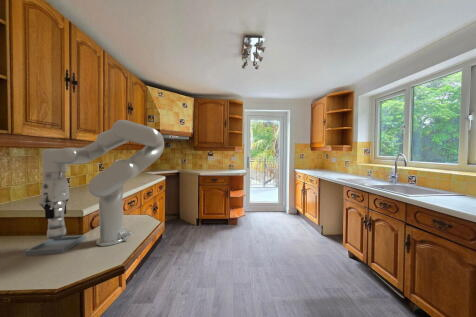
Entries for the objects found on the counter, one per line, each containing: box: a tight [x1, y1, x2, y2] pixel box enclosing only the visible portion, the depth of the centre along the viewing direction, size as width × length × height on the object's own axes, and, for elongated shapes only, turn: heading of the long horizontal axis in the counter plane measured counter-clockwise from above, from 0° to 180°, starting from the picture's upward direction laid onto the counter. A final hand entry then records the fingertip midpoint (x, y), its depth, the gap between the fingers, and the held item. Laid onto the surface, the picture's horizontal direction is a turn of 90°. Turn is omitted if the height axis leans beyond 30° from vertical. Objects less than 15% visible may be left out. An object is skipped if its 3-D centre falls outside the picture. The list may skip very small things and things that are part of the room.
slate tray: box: [23, 235, 87, 257], centre depth 91 cm, size 15×15×2 cm
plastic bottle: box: [46, 201, 67, 240], centre depth 91 cm, size 6×7×20 cm
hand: (56, 215), depth 91 cm, fingers closed on plastic bottle, 6 cm apart
